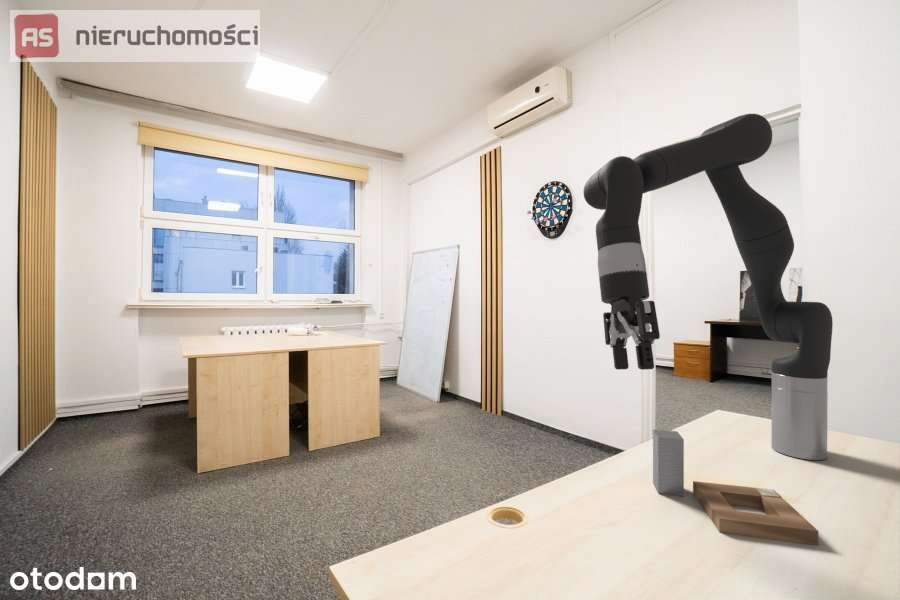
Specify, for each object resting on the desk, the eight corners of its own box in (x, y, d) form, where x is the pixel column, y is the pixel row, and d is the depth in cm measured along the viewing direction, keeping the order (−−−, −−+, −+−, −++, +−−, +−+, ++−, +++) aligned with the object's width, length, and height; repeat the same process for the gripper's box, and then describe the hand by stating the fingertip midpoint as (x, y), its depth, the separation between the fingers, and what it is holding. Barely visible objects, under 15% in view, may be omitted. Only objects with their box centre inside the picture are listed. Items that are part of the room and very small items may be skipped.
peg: (653, 483, 73) (652, 429, 73) (677, 485, 72) (677, 431, 72) (658, 493, 69) (658, 437, 69) (683, 496, 68) (683, 439, 68)
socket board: (693, 492, 70) (693, 480, 70) (773, 501, 66) (773, 489, 66) (719, 531, 58) (719, 517, 58) (818, 545, 55) (818, 530, 55)
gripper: (666, 262, 61) (681, 368, 58) (624, 281, 75) (635, 368, 72) (618, 263, 61) (630, 370, 58) (585, 283, 75) (594, 370, 72)
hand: (633, 369), depth 65 cm, fingers open, 8 cm apart
